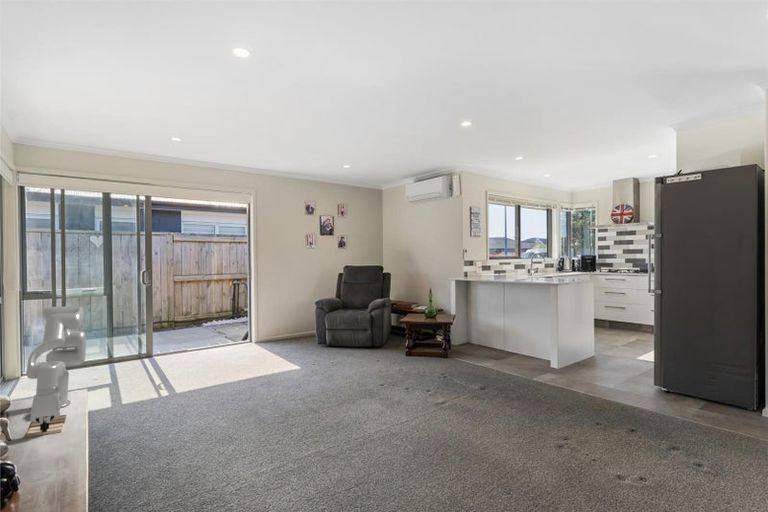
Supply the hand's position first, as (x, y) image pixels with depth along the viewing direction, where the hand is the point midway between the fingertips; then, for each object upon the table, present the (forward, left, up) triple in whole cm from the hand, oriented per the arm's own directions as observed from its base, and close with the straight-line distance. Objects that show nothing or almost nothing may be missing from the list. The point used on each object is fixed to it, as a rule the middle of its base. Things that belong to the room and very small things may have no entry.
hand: (44, 431), depth 181 cm
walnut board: (-17, 0, -2) cm, 17 cm away
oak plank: (-5, 0, -2) cm, 5 cm away
